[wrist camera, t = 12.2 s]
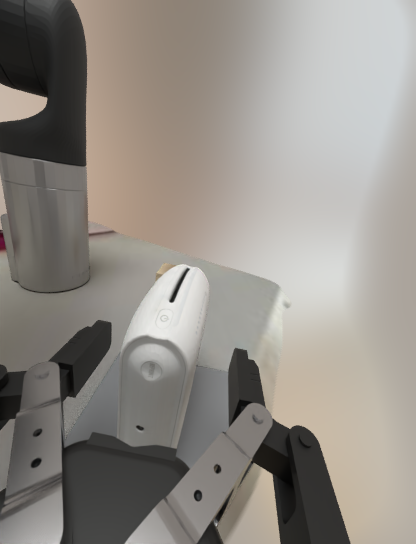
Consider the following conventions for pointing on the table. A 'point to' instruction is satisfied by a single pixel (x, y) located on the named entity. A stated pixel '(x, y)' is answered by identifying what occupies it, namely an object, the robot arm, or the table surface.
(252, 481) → the table surface
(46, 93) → the robot arm
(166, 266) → the wooden block
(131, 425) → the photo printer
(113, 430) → the felt pad
